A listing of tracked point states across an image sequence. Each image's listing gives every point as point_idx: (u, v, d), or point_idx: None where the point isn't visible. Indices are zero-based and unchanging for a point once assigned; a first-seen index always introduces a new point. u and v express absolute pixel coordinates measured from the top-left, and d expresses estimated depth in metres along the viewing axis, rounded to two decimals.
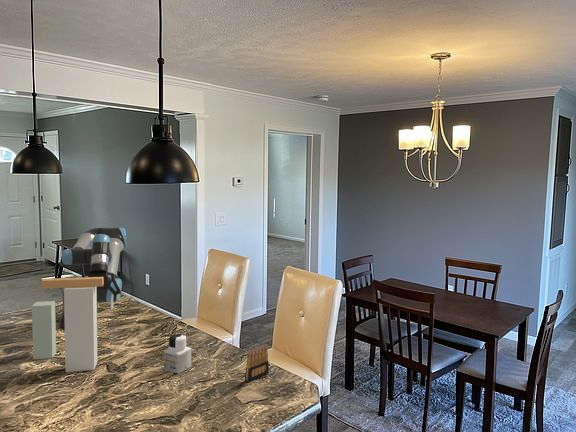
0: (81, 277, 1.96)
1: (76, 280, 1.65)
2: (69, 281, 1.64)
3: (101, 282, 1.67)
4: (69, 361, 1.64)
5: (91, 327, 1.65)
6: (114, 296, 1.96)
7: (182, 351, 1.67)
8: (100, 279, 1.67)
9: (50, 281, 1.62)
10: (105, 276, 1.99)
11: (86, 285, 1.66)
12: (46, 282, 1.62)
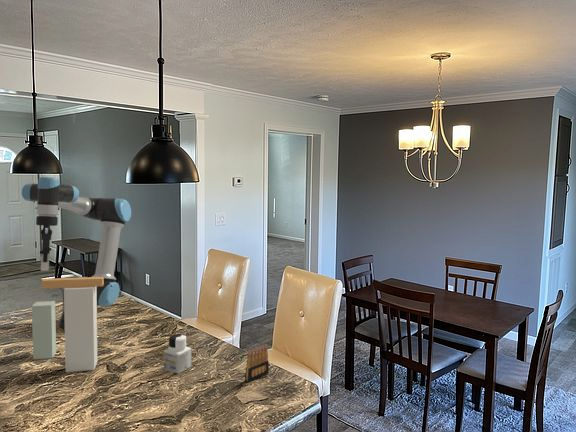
0: None
1: (76, 280, 1.65)
2: (69, 281, 1.64)
3: (101, 282, 1.67)
4: (69, 361, 1.64)
5: (91, 327, 1.65)
6: (43, 256, 1.67)
7: (182, 351, 1.67)
8: (100, 279, 1.67)
9: (50, 281, 1.62)
10: (43, 230, 1.71)
11: (86, 285, 1.66)
12: (46, 282, 1.62)
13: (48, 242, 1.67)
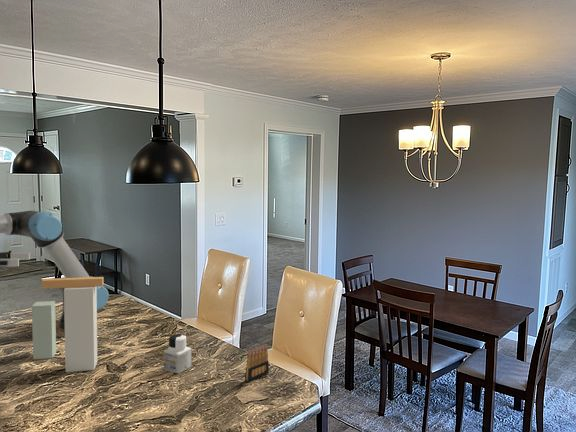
0: None
1: (76, 280, 1.65)
2: (69, 281, 1.64)
3: (101, 282, 1.67)
4: (69, 361, 1.64)
5: (91, 327, 1.65)
6: None
7: (182, 351, 1.67)
8: (100, 279, 1.67)
9: (50, 281, 1.62)
10: None
11: (86, 285, 1.66)
12: (46, 282, 1.62)
13: None
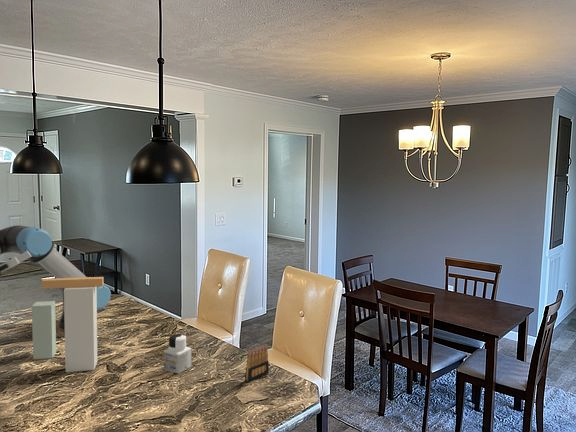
0: None
1: (76, 280, 1.65)
2: (69, 281, 1.64)
3: (101, 282, 1.67)
4: (69, 361, 1.64)
5: (91, 327, 1.65)
6: (2, 270, 1.52)
7: (182, 351, 1.67)
8: (100, 279, 1.67)
9: (50, 281, 1.62)
10: None
11: (86, 285, 1.66)
12: (46, 282, 1.62)
13: None
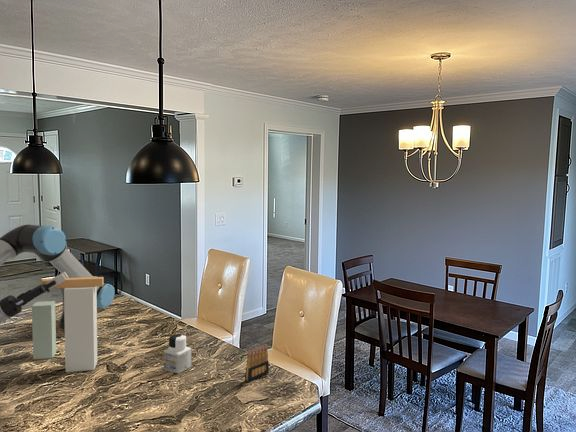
0: None
1: (76, 280, 1.65)
2: (69, 281, 1.64)
3: (101, 282, 1.67)
4: (69, 361, 1.64)
5: (91, 327, 1.65)
6: (50, 286, 1.61)
7: (182, 351, 1.67)
8: (100, 279, 1.67)
9: None
10: None
11: (86, 285, 1.66)
12: None
13: (32, 292, 1.57)
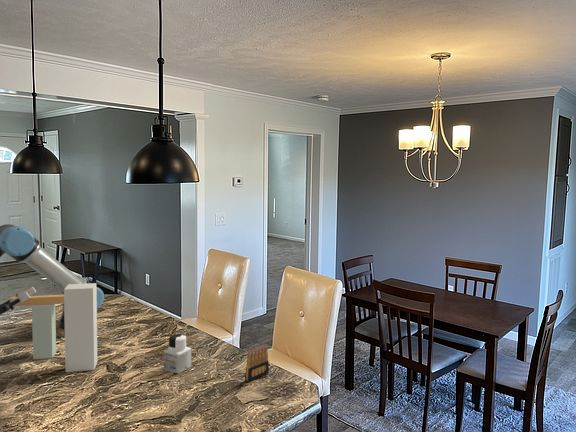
0: None
1: (43, 298, 1.75)
2: (36, 299, 1.74)
3: None
4: (69, 361, 1.64)
5: (91, 327, 1.65)
6: (15, 304, 1.69)
7: (182, 351, 1.67)
8: None
9: None
10: None
11: (52, 302, 1.76)
12: None
13: None
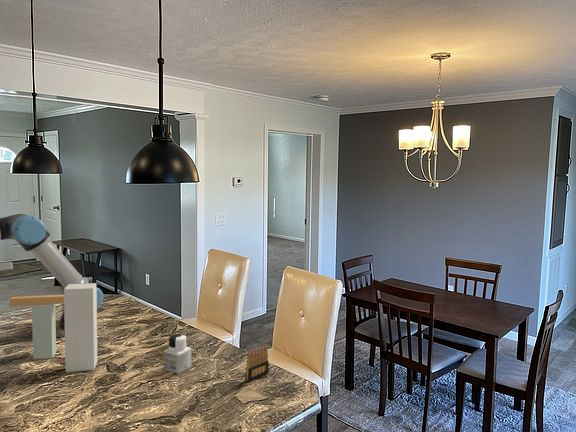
0: None
1: (43, 298, 1.75)
2: (36, 299, 1.74)
3: None
4: (69, 361, 1.64)
5: (91, 327, 1.65)
6: None
7: (182, 351, 1.67)
8: None
9: (18, 299, 1.73)
10: None
11: (52, 302, 1.76)
12: (14, 300, 1.72)
13: None
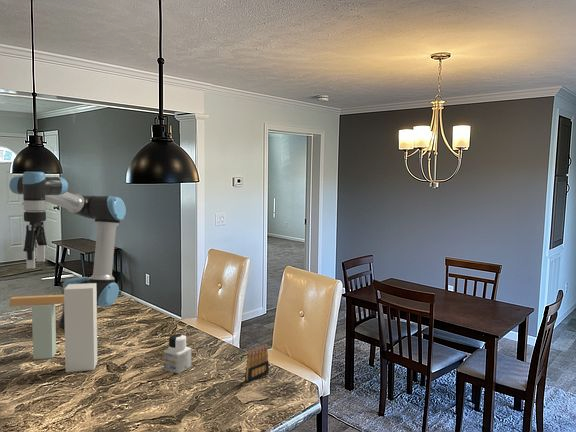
0: None
1: (43, 298, 1.75)
2: (36, 299, 1.74)
3: None
4: (69, 361, 1.64)
5: (91, 327, 1.65)
6: None
7: (182, 351, 1.67)
8: None
9: (18, 299, 1.73)
10: None
11: (52, 302, 1.76)
12: (14, 300, 1.72)
13: (31, 240, 1.63)
